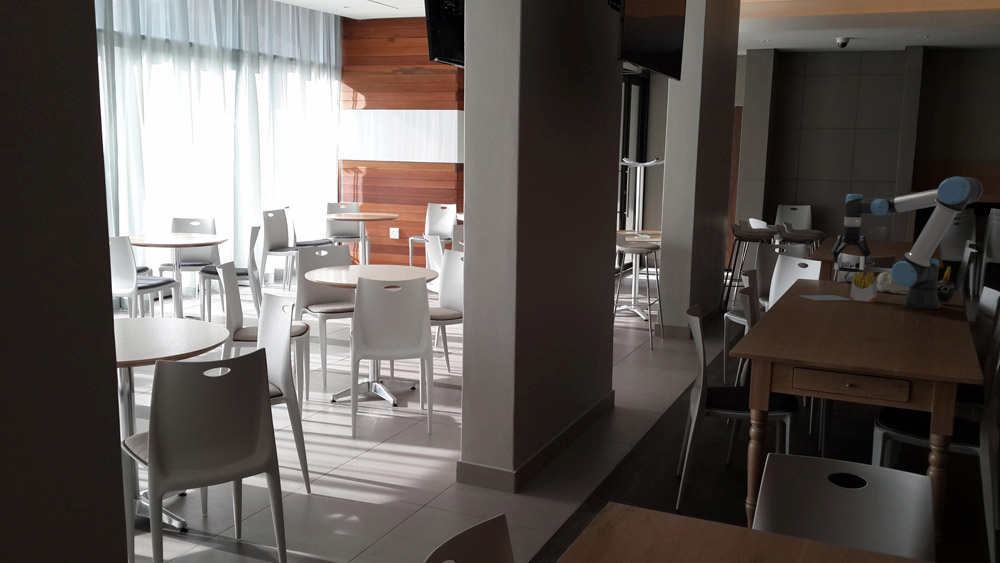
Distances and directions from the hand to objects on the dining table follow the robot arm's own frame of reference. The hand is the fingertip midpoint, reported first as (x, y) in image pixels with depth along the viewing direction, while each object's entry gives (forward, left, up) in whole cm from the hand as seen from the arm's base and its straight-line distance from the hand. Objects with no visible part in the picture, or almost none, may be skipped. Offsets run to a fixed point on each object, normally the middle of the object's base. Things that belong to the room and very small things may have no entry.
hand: (849, 269), depth 406 cm
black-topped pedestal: (+47, -31, -14) cm, 59 cm away
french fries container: (-8, -3, -19) cm, 21 cm away
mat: (-1, +12, -14) cm, 19 cm away
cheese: (+20, -29, -15) cm, 38 cm away
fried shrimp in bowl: (-17, -40, -14) cm, 46 cm away
